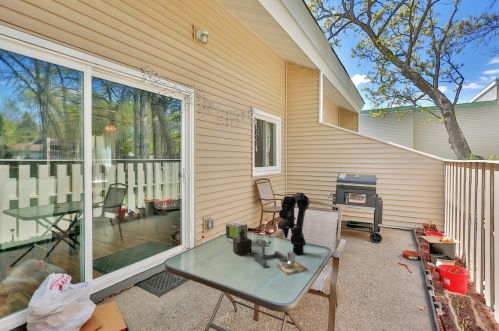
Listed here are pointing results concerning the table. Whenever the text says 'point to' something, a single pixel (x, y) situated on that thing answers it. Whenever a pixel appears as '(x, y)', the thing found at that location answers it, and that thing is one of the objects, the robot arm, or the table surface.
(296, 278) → the table surface
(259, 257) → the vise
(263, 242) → the mechanical component
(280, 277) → the table surface
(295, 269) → the board
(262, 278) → the table surface
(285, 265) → the brushed metal step block
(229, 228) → the tea box
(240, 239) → the potted plant
